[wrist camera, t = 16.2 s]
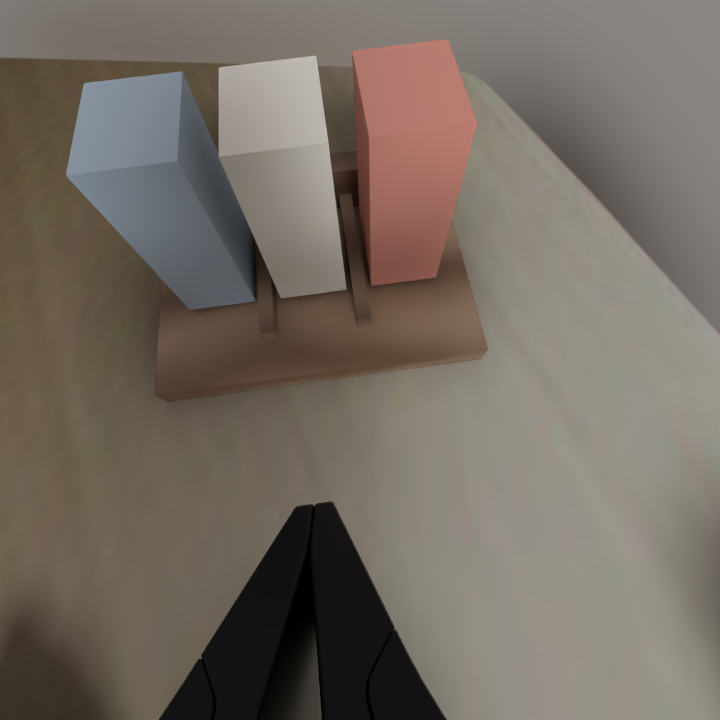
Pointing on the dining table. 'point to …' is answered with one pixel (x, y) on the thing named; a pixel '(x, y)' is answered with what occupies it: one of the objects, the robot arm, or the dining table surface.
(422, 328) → the wooden block stand
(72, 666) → the dining table surface
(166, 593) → the dining table surface
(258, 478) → the dining table surface
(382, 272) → the red rectangular block
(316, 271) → the white tall block
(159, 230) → the light blue tall block
